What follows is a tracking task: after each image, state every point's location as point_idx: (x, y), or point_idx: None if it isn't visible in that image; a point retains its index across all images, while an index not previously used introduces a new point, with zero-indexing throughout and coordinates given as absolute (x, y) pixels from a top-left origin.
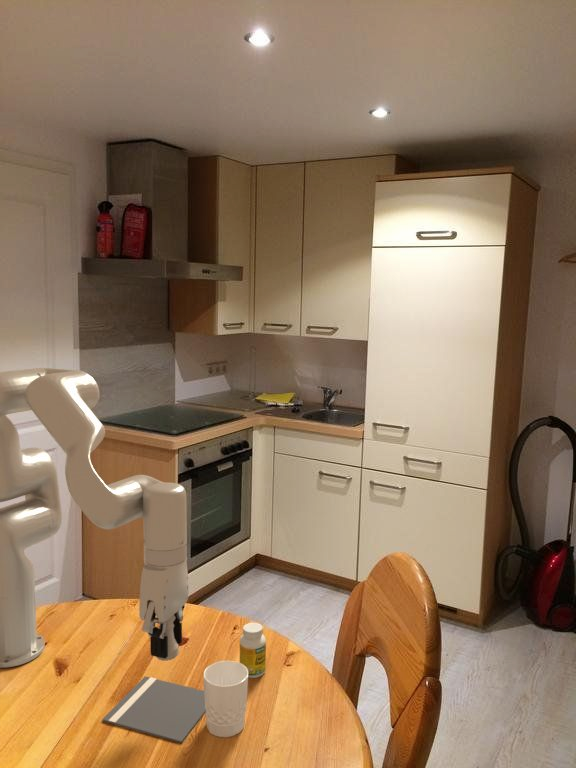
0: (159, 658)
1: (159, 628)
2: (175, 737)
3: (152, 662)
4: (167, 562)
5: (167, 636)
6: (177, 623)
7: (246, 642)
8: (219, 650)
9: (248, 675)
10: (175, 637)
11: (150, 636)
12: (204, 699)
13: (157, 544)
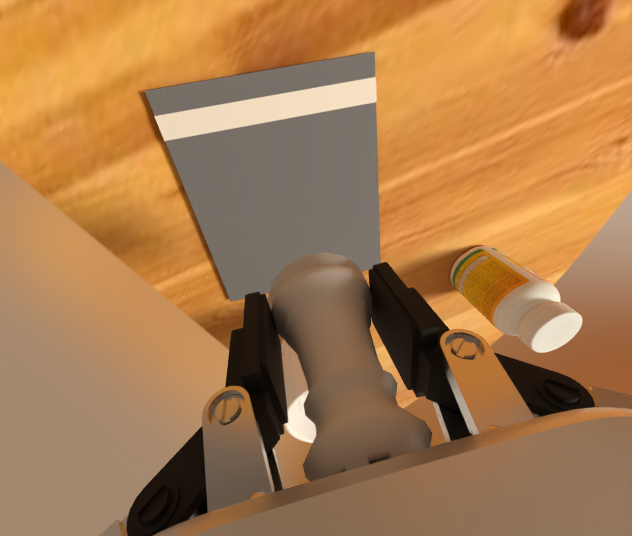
0: (270, 303)
1: (308, 395)
2: (230, 287)
3: (454, 6)
4: None
5: (283, 433)
6: (416, 387)
7: (508, 317)
8: (539, 161)
9: (452, 278)
10: (380, 325)
11: (242, 364)
12: (354, 257)
13: None
